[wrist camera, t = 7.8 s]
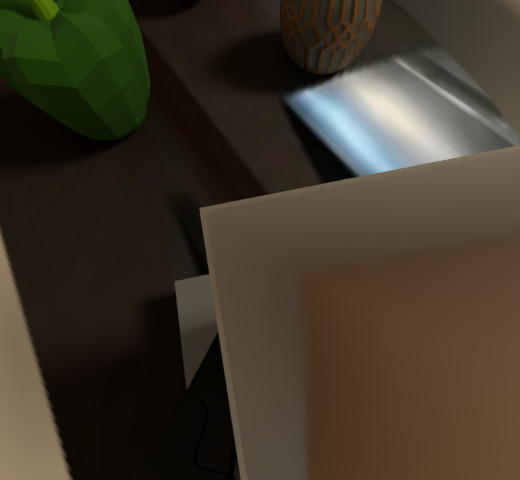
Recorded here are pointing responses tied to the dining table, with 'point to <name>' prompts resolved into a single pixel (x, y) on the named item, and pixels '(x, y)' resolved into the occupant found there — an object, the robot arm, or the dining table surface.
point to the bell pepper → (77, 62)
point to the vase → (326, 31)
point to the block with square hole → (195, 321)
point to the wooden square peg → (374, 324)
